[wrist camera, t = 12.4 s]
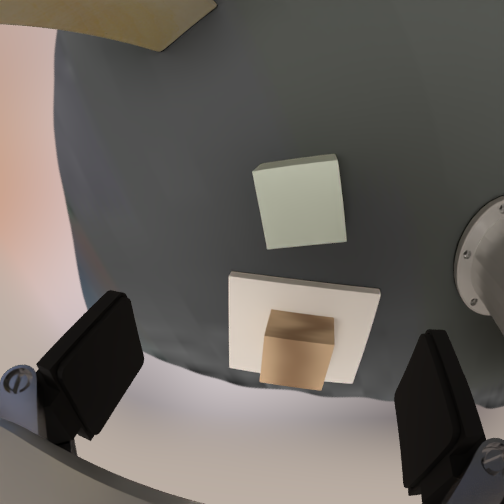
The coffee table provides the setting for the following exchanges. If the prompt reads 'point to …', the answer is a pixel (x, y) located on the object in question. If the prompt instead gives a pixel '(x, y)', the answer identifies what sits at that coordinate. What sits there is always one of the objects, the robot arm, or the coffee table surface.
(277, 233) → the sage block
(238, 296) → the baseplate
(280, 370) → the oak block
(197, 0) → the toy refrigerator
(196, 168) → the coffee table surface
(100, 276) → the coffee table surface
